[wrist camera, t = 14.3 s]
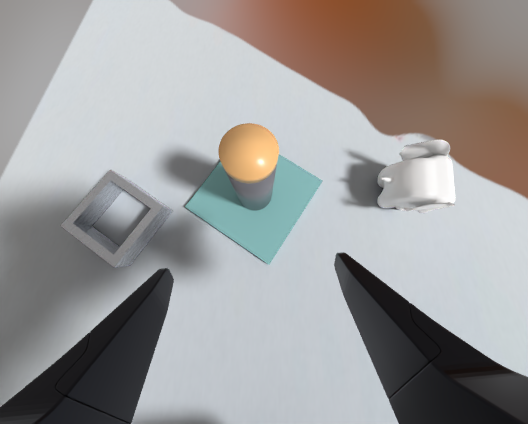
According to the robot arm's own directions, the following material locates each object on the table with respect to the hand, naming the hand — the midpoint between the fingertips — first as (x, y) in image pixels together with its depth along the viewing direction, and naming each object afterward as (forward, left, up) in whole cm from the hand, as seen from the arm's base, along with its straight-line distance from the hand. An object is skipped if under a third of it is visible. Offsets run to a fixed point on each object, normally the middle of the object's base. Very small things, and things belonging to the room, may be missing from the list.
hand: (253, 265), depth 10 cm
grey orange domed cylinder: (+6, +5, -13) cm, 15 cm away
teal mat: (+6, +5, -14) cm, 16 cm away
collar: (-6, +17, -14) cm, 22 cm away
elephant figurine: (+17, -11, -14) cm, 25 cm away
